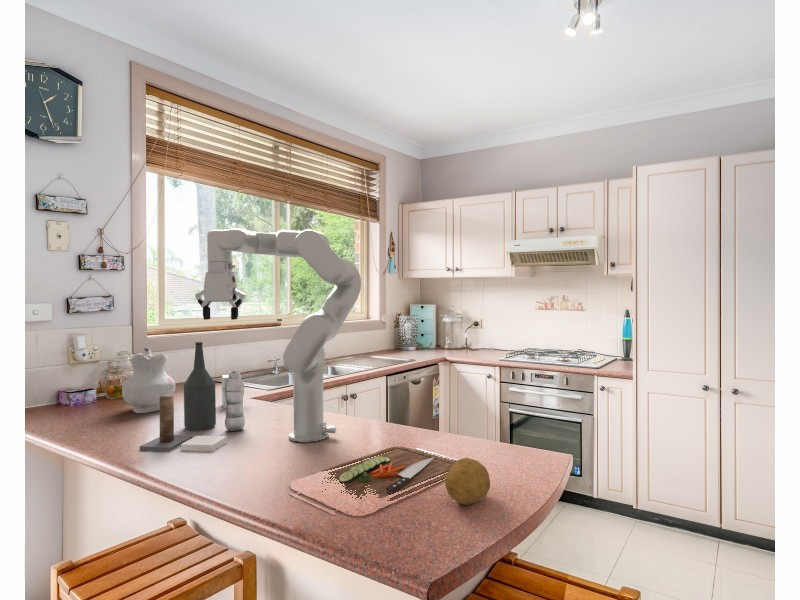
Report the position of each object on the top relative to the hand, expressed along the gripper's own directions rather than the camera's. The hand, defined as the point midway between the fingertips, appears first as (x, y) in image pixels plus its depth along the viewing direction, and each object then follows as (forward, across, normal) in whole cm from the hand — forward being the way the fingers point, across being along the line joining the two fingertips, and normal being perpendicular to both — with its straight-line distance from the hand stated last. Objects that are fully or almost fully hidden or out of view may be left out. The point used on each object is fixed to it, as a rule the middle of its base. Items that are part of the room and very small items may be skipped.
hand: (220, 319), depth 167 cm
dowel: (+37, +12, +13) cm, 41 cm away
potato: (+39, -82, +43) cm, 100 cm away
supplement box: (+39, +17, -40) cm, 58 cm away
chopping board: (+39, -60, +31) cm, 78 cm away
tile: (+37, -6, +13) cm, 40 cm away
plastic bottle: (+38, -2, -5) cm, 39 cm away
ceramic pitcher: (+38, +48, -30) cm, 68 cm away
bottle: (+38, +12, -7) cm, 41 cm away
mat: (+38, +12, +13) cm, 42 cm away
